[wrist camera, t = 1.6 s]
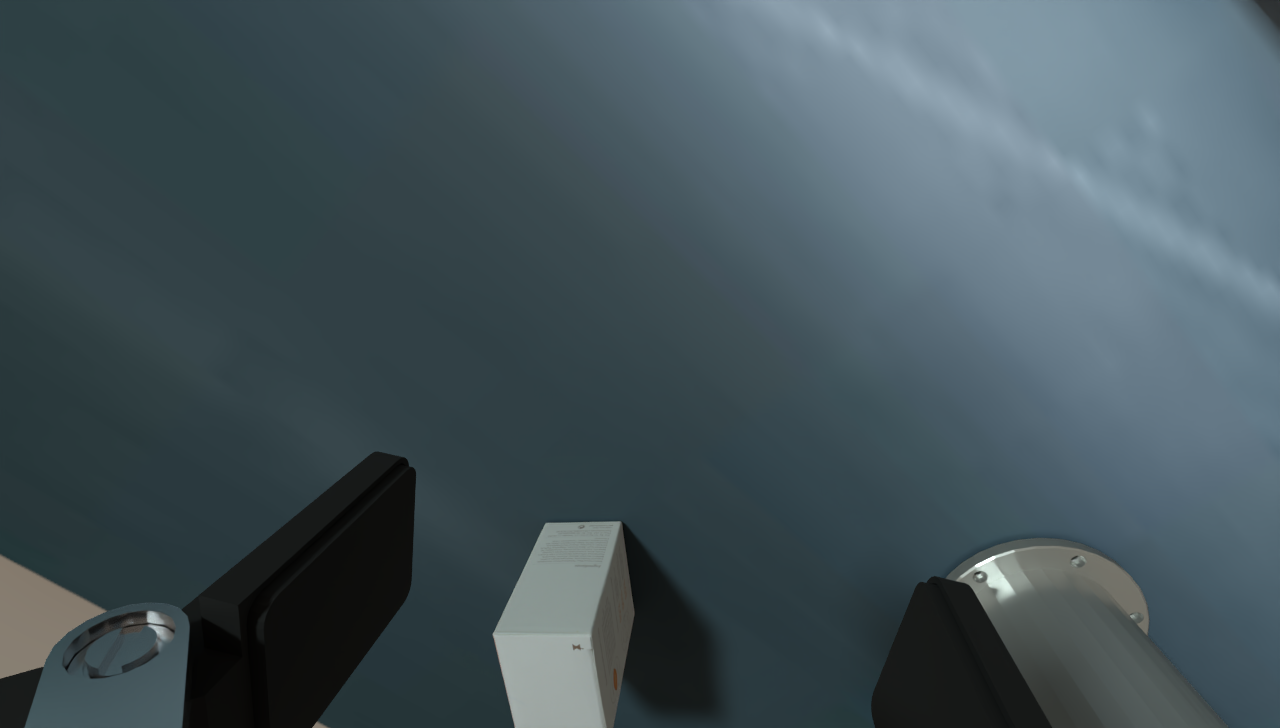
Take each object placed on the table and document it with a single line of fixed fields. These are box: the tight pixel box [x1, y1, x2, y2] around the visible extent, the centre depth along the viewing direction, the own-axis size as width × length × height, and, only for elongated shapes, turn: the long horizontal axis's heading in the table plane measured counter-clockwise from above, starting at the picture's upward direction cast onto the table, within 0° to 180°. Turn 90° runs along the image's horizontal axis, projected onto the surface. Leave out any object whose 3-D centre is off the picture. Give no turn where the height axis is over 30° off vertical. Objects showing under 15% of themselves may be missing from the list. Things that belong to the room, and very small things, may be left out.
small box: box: [493, 521, 635, 728], centre depth 37 cm, size 8×6×10 cm
